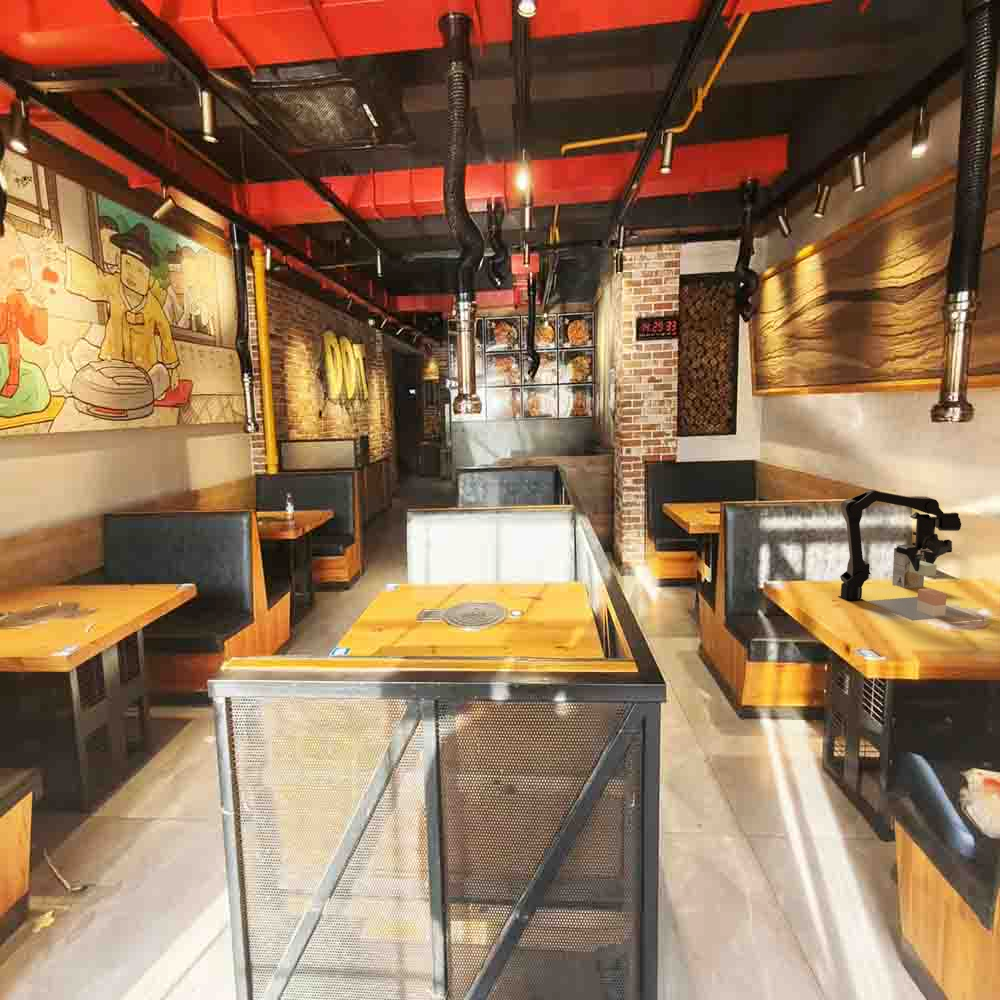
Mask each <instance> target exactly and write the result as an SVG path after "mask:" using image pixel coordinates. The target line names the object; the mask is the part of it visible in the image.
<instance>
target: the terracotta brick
mask: <svg viewBox="0 0 1000 1000" xmlns="http://www.w3.org/2000/svg"><path fill="white" fill-rule="evenodd" d="M917 597H918V600H919V601H922V602H925V603H927V604H930V605H933V606H939V605H946V606H947V593H945V592H941V591H939V590H936V589H932V588H920V589H919V588H918V589H917Z"/></svg>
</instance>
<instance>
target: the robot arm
mask: <svg viewBox="0 0 1000 1000" xmlns="http://www.w3.org/2000/svg"><path fill="white" fill-rule="evenodd" d="M875 502H881V503H885V504H891V505H896V506H903V507H907V508H910V509H914V510H917V511H919V512H922V513H919V512H917V511H915V512H914V513H913V514H911V515H909V517H910V518H911V519H913V520H916V525H915V526H916V527H915V531H913V532H912V535H913V536H915V538H914V539H915V540H914V542H912V544H911V545H910V544H898V545H897V546H896V547H895V548H896V552H898V553H901V554H905V555H907V556H908V558H909V559H910V561H911V563H912V565H913V567H914V569H915V571H918V570H919V564H920V558H921V557H922V556H923V555H920V551H924V554H925V562H927V563H931V564H934V563H935V562H936V560H937V558H939V557H940V556H944V554H945V555H946V554H947V553H953V547H952V546H953V541H952V540H951V539H939V535H938V534H937V533H936V529H938V531H940V532H946V531H947V532H958V531H960V530H961V527H962V522H961V518H960V514H959V513H958V512H943V510H942V509H941V508H940V504H939V503H940V502H938V500H937V499H935V498H933V497H932V498H931V497H928V496H921V495H920V496H918V495H917V496H916V495H914V496H906V495H900V494H895V493H889V492H884V491H879V490H876V489H868V490H867V491H864V492H862V493H861V494H859V495H855V496H854V497H851V498H847V499H845V500H843V501H842V502H841V503H840V510H841V513H842V515H843V518H844V521H845V522H846V530H847V543H848V553H849V558H848V559H849V560H848V561H847V566H846V567H847V568H846V571H845V572H844V573H842V574H841V575H840V576H839V578H840V580H841V582H842V583H841V584H840V585H841V587H840V595H838V596H837V598H839V599H841V600H843V601H846V602H849V603H850V602H861V601H862V602H863V601H864V599H863V596H862V595H863V585H864V583H865V582H866V581H868V580H869V578H870V575H871V574H872V573H871V572H870V568H871V567H870V563H868V562H867V561H866V560H864V557H863V556H864V555H863V545H862V536H861V525H860V524H861V519H862V517H863V510H866V509H867V508H869V507H870V506H872V505H873V503H875ZM931 515H932V516H931ZM864 602H865V601H864Z"/></svg>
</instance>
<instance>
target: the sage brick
mask: <svg viewBox="0 0 1000 1000" xmlns="http://www.w3.org/2000/svg"><path fill="white" fill-rule="evenodd" d="M909 572H913V573H916V574H919V575H922V576H924V577H932V576H933V577H935V576H936V574H937V564H931V563H927V562H924V561H920V564H919V570H918V571H915V569H914V567H913V565H912V563H911V561H910V569H909Z"/></svg>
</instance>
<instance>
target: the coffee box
mask: <svg viewBox="0 0 1000 1000" xmlns="http://www.w3.org/2000/svg"><path fill="white" fill-rule="evenodd" d="M896 548H897V547H894V548H893V564H892V566H893V567H892V580H891V581H892V584H891V585H892V586H897V587H899V588H903V589H910V588H911V589H912V588H913V589H914V588H924V583H925V582H924V581H925V579H924V578H925V576H922V575H919V574H916V573H913V572H909V569H910V559H909V558H908V556H907V555H905V554H901V553H898V552H896ZM920 555H923V556H922V557H921V558H920V561H924V562H925V554H924V551H920Z"/></svg>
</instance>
